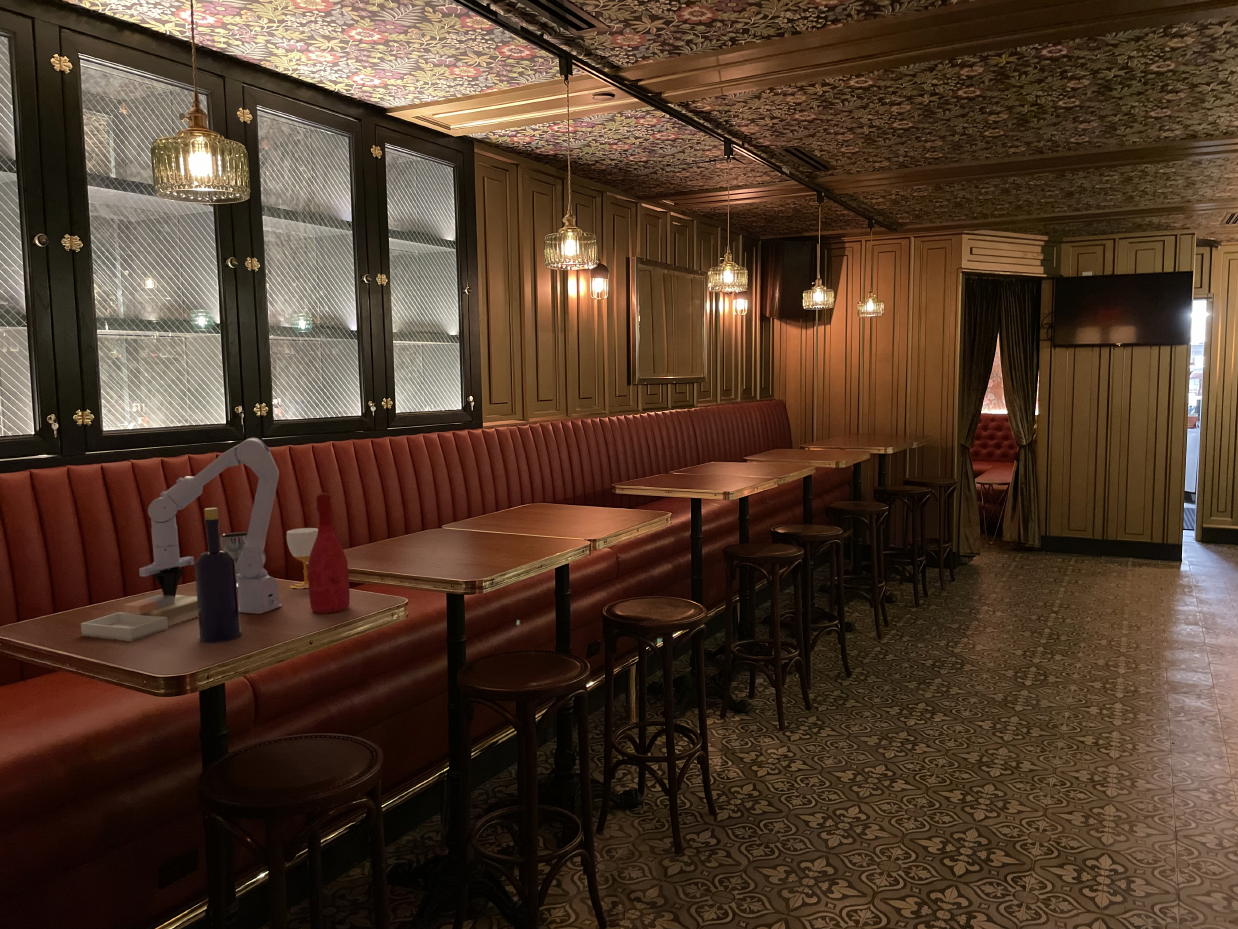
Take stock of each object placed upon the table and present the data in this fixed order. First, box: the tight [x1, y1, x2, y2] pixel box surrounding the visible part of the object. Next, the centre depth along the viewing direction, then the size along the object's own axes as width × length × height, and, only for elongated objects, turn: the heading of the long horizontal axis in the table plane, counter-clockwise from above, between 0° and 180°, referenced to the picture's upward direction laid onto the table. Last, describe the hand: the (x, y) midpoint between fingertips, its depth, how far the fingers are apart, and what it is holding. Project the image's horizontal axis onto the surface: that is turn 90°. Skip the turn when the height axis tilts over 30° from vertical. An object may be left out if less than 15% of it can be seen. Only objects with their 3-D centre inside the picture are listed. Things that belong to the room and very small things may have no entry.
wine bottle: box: [307, 492, 351, 614], centre depth 221 cm, size 10×10×30 cm
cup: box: [286, 527, 318, 590], centre depth 249 cm, size 9×9×16 cm
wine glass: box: [219, 531, 248, 587], centre depth 252 cm, size 8×8×15 cm
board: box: [141, 594, 199, 627], centre depth 218 cm, size 12×14×4 cm
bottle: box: [194, 507, 242, 644], centre depth 199 cm, size 9×9×30 cm
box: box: [80, 611, 169, 642], centre depth 206 cm, size 16×10×3 cm, turn 69°
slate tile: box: [141, 594, 175, 609], centre depth 215 cm, size 5×5×2 cm
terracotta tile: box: [123, 599, 158, 614], centre depth 210 cm, size 5×5×2 cm
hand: (170, 598), depth 218 cm, fingers closed
